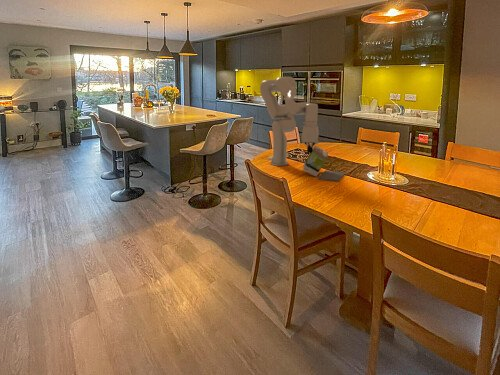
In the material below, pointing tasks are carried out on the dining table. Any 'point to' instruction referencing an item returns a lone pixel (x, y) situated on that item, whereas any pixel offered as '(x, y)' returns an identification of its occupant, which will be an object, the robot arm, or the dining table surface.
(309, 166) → the tea box
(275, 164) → the robot arm
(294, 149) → the dining table surface
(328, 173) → the display board
